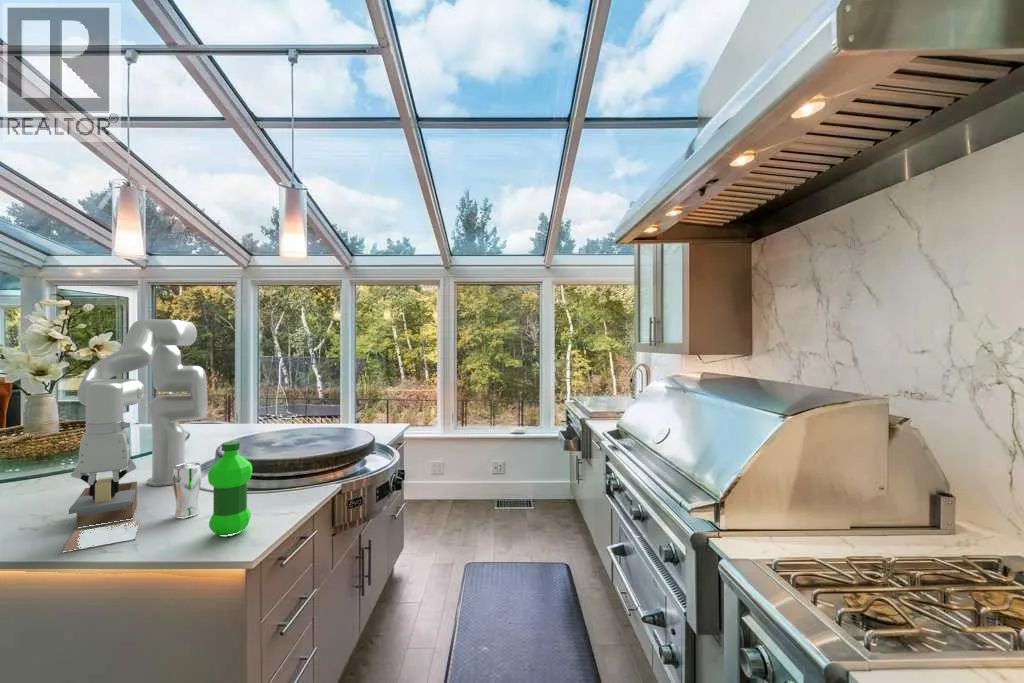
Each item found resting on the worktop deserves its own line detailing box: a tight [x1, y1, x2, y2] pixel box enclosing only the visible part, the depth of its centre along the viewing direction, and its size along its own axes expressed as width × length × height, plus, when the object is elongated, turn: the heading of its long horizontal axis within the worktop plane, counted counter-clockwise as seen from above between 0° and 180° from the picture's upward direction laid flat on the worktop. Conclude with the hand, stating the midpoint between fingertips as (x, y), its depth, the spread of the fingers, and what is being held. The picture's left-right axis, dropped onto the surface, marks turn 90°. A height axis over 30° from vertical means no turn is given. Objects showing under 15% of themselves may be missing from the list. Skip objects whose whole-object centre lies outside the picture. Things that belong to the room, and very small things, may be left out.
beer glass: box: [172, 462, 202, 518], centre depth 138 cm, size 7×7×15 cm
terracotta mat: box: [62, 519, 141, 552], centre depth 123 cm, size 14×14×1 cm
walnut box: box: [76, 480, 138, 529], centre depth 135 cm, size 12×12×8 cm
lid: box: [68, 476, 136, 517], centre depth 123 cm, size 12×12×7 cm
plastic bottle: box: [207, 440, 253, 536], centre depth 126 cm, size 10×10×25 cm
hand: (104, 496), depth 123 cm, fingers closed on lid, 3 cm apart
